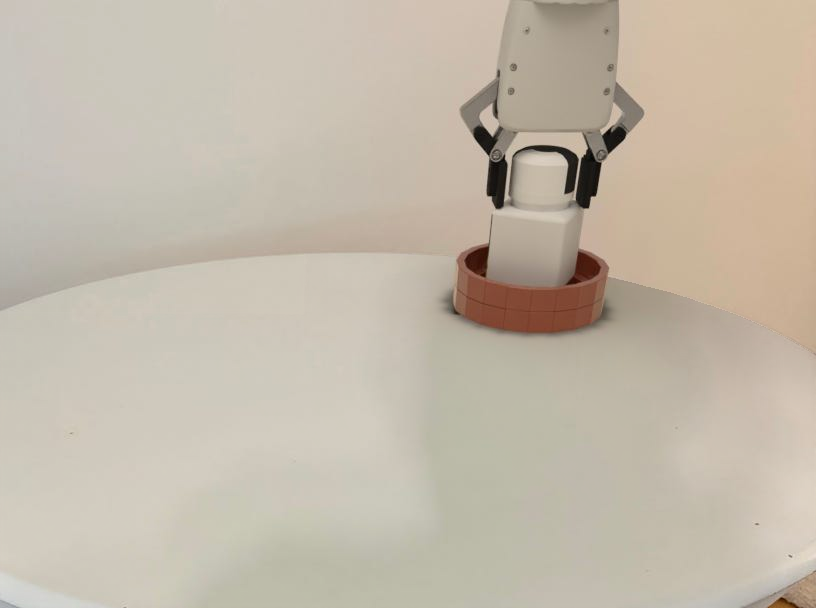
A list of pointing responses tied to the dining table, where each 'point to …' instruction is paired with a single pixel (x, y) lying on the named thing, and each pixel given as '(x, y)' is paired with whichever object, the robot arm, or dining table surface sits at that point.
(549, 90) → the robot arm
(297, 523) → the dining table surface
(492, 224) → the medicine bottle
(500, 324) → the bowl
